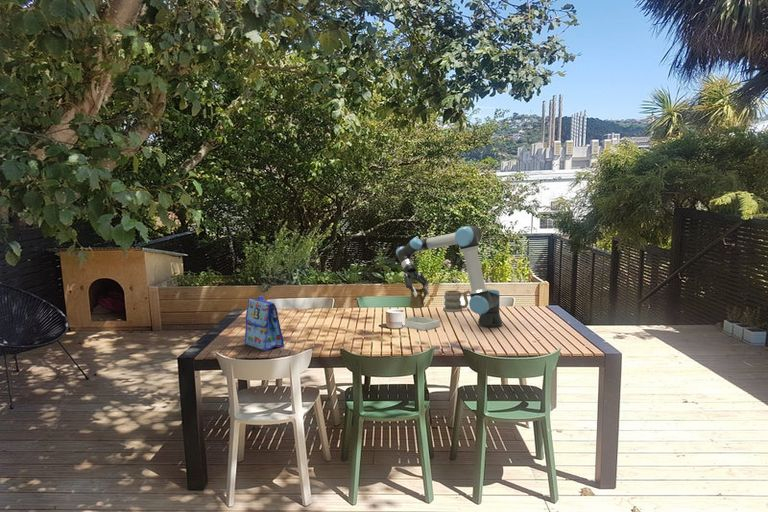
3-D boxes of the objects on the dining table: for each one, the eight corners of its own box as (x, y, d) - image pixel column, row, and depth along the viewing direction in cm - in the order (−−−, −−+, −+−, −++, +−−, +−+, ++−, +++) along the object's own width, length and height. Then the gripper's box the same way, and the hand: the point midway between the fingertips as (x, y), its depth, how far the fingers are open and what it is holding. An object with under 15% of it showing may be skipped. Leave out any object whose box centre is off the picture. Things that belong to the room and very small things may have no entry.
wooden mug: (428, 309, 337) (427, 280, 335) (407, 308, 342) (406, 280, 340) (432, 306, 345) (431, 278, 343) (412, 305, 350) (411, 277, 348)
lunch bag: (244, 344, 309) (241, 295, 306) (264, 340, 318) (262, 292, 316) (264, 351, 294) (262, 299, 291) (285, 346, 303) (283, 296, 300)
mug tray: (439, 326, 342) (439, 320, 342) (424, 330, 332) (424, 324, 332) (417, 322, 357) (417, 316, 356) (401, 325, 347) (401, 319, 346)
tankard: (442, 311, 387) (442, 291, 386) (445, 308, 400) (445, 288, 398) (470, 313, 382) (470, 292, 380) (472, 309, 394) (472, 289, 392)
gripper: (420, 269, 360) (434, 296, 347) (392, 272, 350) (405, 300, 337) (424, 262, 354) (438, 289, 342) (396, 264, 344) (410, 293, 332)
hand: (422, 295), depth 340 cm, fingers closed on wooden mug, 8 cm apart
